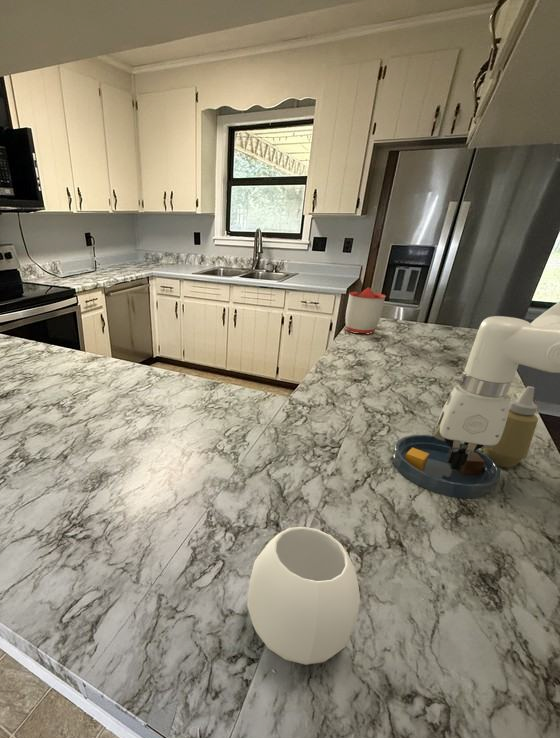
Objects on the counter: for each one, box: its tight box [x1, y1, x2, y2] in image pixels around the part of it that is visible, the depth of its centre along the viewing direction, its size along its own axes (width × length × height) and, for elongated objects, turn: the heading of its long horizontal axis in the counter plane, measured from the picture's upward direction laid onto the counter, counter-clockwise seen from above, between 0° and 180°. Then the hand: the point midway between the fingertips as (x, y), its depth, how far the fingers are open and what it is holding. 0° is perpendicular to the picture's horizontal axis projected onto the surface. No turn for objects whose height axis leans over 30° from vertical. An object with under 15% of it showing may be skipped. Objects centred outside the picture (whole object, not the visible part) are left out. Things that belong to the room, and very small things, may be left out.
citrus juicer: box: [345, 286, 387, 333], centre depth 181 cm, size 16×17×20 cm
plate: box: [391, 434, 501, 499], centre depth 84 cm, size 19×19×4 cm
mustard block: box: [405, 448, 429, 471], centre depth 84 cm, size 4×4×4 cm
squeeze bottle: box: [482, 385, 539, 468], centre depth 84 cm, size 8×8×18 cm
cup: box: [247, 526, 361, 666], centre depth 49 cm, size 13×13×14 cm
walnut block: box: [460, 452, 485, 475], centre depth 83 cm, size 4×4×4 cm
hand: (453, 466), depth 82 cm, fingers closed
